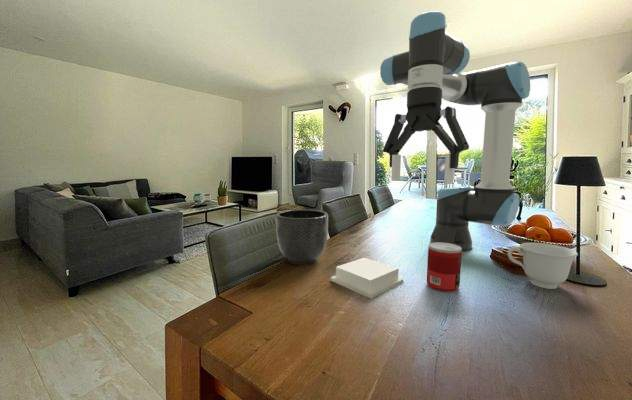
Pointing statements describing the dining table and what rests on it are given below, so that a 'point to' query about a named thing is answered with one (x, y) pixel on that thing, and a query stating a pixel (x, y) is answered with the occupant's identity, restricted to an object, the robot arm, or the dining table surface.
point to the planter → (302, 235)
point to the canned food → (444, 266)
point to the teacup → (545, 263)
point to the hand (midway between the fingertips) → (420, 182)
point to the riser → (367, 277)
